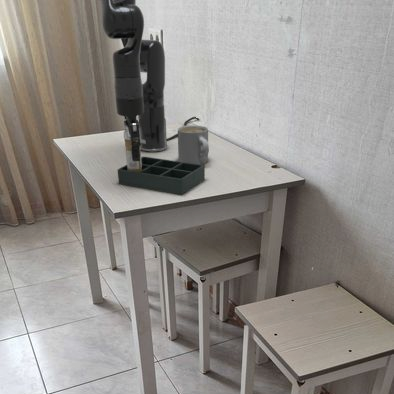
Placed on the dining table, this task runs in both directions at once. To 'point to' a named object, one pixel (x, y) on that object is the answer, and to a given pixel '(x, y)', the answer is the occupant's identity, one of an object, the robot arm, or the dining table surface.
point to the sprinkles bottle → (131, 164)
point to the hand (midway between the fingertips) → (134, 156)
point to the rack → (163, 175)
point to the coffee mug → (193, 144)
